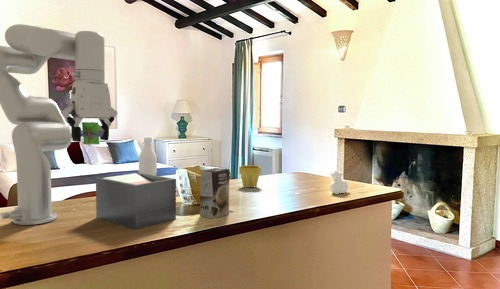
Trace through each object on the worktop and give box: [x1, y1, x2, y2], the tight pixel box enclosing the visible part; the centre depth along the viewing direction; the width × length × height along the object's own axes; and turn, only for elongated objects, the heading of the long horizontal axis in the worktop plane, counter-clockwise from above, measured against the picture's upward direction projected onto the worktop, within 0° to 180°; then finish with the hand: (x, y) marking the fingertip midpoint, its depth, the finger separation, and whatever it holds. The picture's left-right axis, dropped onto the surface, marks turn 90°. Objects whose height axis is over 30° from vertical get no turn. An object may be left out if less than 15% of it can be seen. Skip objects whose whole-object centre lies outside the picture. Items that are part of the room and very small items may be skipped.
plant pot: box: [238, 164, 262, 188], centre depth 189 cm, size 10×10×10 cm
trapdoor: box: [104, 172, 152, 185], centre depth 131 cm, size 13×14×1 cm
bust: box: [329, 170, 349, 195], centre depth 179 cm, size 12×8×11 cm
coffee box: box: [199, 167, 231, 220], centre depth 136 cm, size 9×6×16 cm
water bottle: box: [138, 137, 158, 176], centre depth 157 cm, size 7×7×25 cm
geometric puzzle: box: [80, 121, 105, 146], centre depth 110 cm, size 7×7×8 cm
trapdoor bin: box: [95, 171, 177, 231], centre depth 130 cm, size 16×21×14 cm
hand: (90, 140), depth 110 cm, fingers closed on geometric puzzle, 7 cm apart
